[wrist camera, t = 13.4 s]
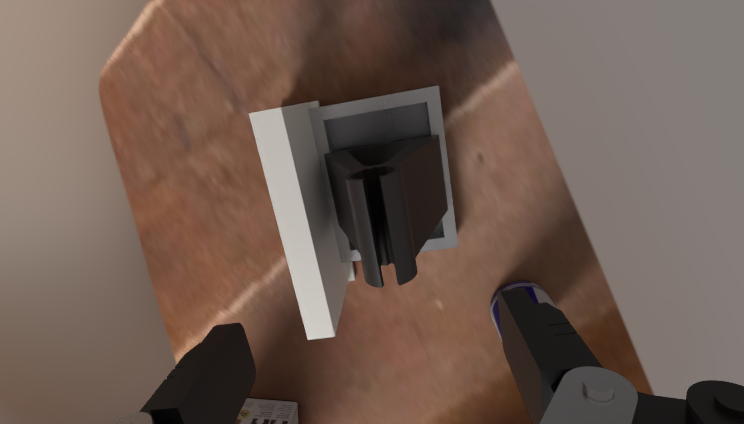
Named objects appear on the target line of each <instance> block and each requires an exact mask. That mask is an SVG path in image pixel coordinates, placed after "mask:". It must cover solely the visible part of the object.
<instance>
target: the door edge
mask: <svg viewBox="0 0 744 424" xmlns="http://www.w3.org/2000/svg"><path fill="white" fill-rule="evenodd" d="M316 107H320V103H319V100H318V101H313V102H307V103H302V104H296V105H291V106H285V107H280V108H275V109H270V110H265V111H259V112H254V113H249V116H250V120H251V124H252V128H253V132H254V135H255V139H256V143H257V147H258V151H259V155H260V158H261V162H262V166H263V170H264V174H265V178H266V181H267V185H268V189H269V193H270V197H271V201H272V204H273V208H274V212H275V216H276V220H277V224H278V228H279V231H280V235H281V239H282V243H283V247H284V251H285V254H286V258H287V262H288V266H289V270H290V274H291V277H292V281H293V285H294V289H295V293H296V297H297V300H298V304H299V308H300V312H301V316H302V320H303V323H304V327H305V331H306V335H307V339H308V340H312V339H320V338H329V337H335V335H336V331H337V327H338V322H339V318H340V314H341V310H342V306H343V302H344V298H345V294H346V290H347V286H348V282H349V281H354V280H355V278H356V276H355V272H354V267H353V262H345V263H341V260H340V255H339V251H338V246H337V241H336V237H335V232H334V228H333V223H332V218H331V214H330V209H329V205H328V200H327V195H326V191H325V186H324V182H323V177H322V172H321V168H320V163H319V159H318V154H317V149H316V145H315V140H314V136H313V131H312V126H311V122H310V117H309V113H308V109H311V108H316Z"/></svg>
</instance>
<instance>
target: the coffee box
mask: <svg viewBox="0 0 744 424" xmlns="http://www.w3.org/2000/svg"><path fill="white" fill-rule="evenodd" d="M234 424H298V403H297V402H289V401H277V400H265V399H252V398H247V399H246V401H245V403H244V405H243V407H242V409H241V411H240V413H239V415H238V417H237V419H236V421H235V423H234Z"/></svg>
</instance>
